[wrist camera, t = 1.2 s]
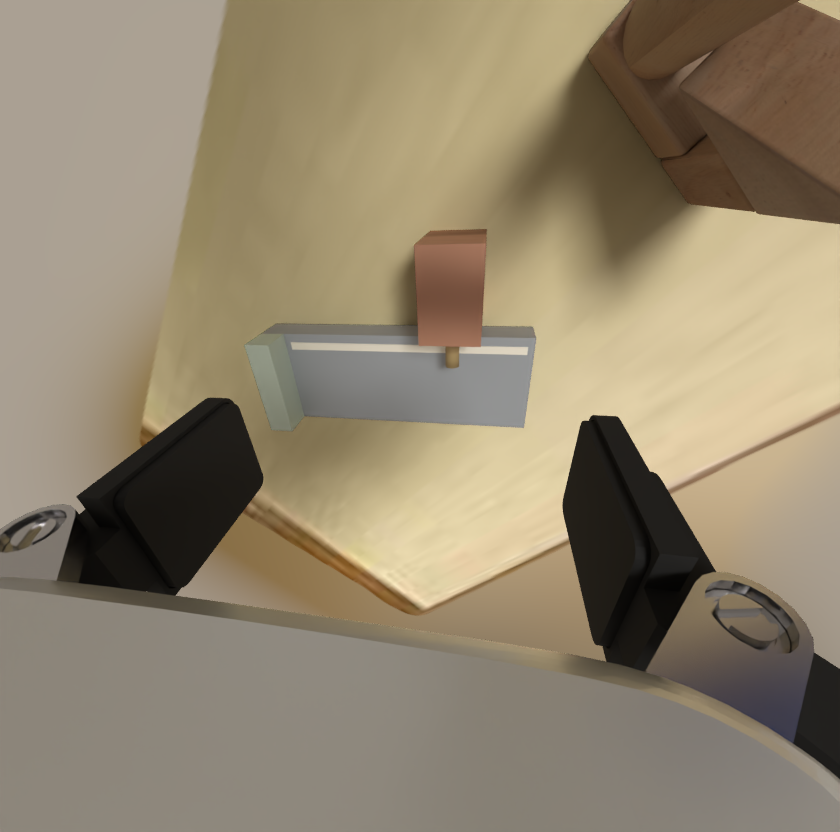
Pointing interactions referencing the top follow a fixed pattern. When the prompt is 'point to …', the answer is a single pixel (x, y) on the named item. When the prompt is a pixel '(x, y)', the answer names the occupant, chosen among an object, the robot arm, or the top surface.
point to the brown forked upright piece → (733, 100)
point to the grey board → (390, 375)
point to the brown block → (450, 290)
